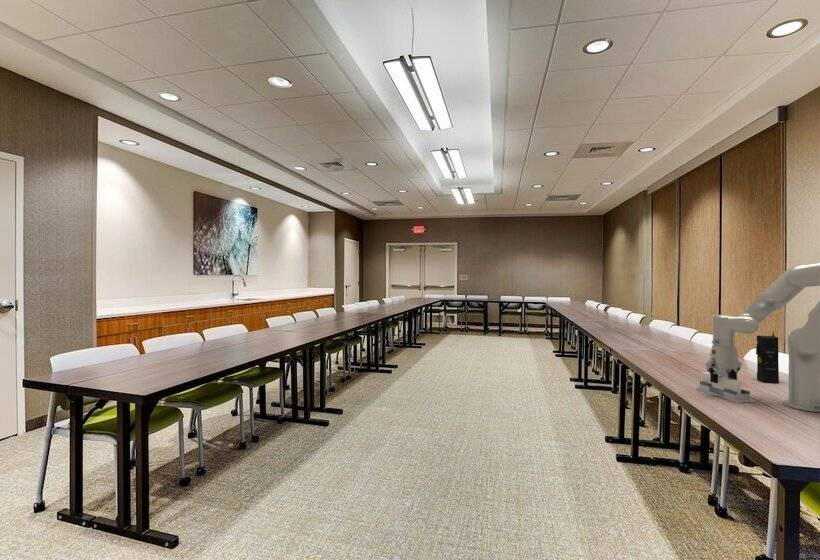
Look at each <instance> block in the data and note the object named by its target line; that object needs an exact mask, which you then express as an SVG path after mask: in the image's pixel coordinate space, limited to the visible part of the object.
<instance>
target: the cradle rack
mask: <svg viewBox="0 0 820 560" xmlns="http://www.w3.org/2000/svg"><path fill="white" fill-rule="evenodd" d="M695 389H696V391H700V392H703V393H705V394H708V395H712V396H714V395H715V397H717V396H719V397H718V398H720V397H721V399H723V398H724V399H723V400H726V399H727V400H726V401H729V400H730V402H732V401H733V403H735V402H736V404H744V403H743V402H750V403H755V399H752V398H751V397H750V396H751V391H750V390H747V389H743V388H741V393H737V392H736V391H733V390H729V389H726V388H725V389H724V390H722V389H718V388H715V387H712V384H710V383H707V382H704V381H701V380H699V386H696V388H695Z"/></svg>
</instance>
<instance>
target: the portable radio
mask: <svg viewBox="0 0 820 560" xmlns="http://www.w3.org/2000/svg"><path fill="white" fill-rule="evenodd" d="M755 348H756V349H755V355H756V359H757V363H756V365H757V366H756V380H757V381H759V382H762V383H765V384H766V383H768V384H780V376H779V374H780V372H779V370H780V369H779V368H780V367H779V365H780V364H779V337H778V336H775V330H773V331H772V335H756V347H755Z"/></svg>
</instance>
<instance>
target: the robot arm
mask: <svg viewBox="0 0 820 560" xmlns="http://www.w3.org/2000/svg"><path fill="white" fill-rule="evenodd" d="M810 287H820V263H812V264H804V265H795V266H791V267H789V268H788V269H787V270H785V271H784V272H783V273H782V274H781V275H780V276H779V277H778V278H777V279H775V281H774V282H772V284H770V285H769V286H768V288H766V289H765V290H764V291H763V292H761V294H760V295H759V296H758V297H757V298H756V299H755V300H754V301H753V302H752V303H751V304H749V305H748V306H746V308H745V309H744V310H743V311H742V312H740V314H738V316H733V315H730V314H715V315H713V318H712V341H711V344H712V345H711V348H710V356H709V357H710V358H709V361H707V362H706V363H704V366H705V368H706V371H707V370H708V371H709V373H710V381H711V382H713V383H718V374H717V372H718V371H719V369H720V370H730V371H731V372H729V378H731V379H735V380H738V374H739V371H740V370H741V367H742V365H743V363H742V362H741V361H739V352H738V347H737V346H736V344H735V343H736V342H735V341H736V340H735V339H736V338H735V337H736V336H735V335H736V333H739V334H746V335H747V334H748V335H749V334H750V335H751V334H754V333H755V332H757V331H758V330H759V326H760V324H761V323H762V322H763V321H764V320H765V319H766V318H767V317H768V316H770V315H771V314H773V313H774V312H776V311H778V310H781V309H782V308H783V307H785V306H786V305H787V304H789V302H791V301H792V300H793V299H794V298H795V297H797V296H798V295H799V293H801V292H802V291H803V290H804V289H805V288H810ZM807 319H808V320H807V321H806V322H805V324H804V325H803V326H802V327H799V328H796V329H794V330H792V331H791V332H790V333H789V335H788V336H787V349H788V399H787V398H786V399H784V400H783V402H782V403H783V404H784V406H787V407H790V408H792V409H796V410H801V411H805V412H811V413H812V412H815V413H820V300H819V301H818V302H817V303H816V305H815V306H814V307H813V308H812V309H811V310H810V311H809V312H808V315H807ZM714 369H715V370H714Z"/></svg>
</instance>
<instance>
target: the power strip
mask: <svg viewBox="0 0 820 560" xmlns="http://www.w3.org/2000/svg"><path fill="white" fill-rule="evenodd" d="M700 374H701V378H700V379H701V380H700V381H704V382H707V383H710V384H712V387H715V388H718V389H722V390H724V389H725V388H726V389H729V390H733V391H736V392H737V393H741V389H742V381H741V380H739V379H737V380H735V379H731V378H728V377H724V376H720V375H718V383H713V382H711V381H710V373H709V372H707V371H704V372H702V371H701V373H700Z"/></svg>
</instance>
